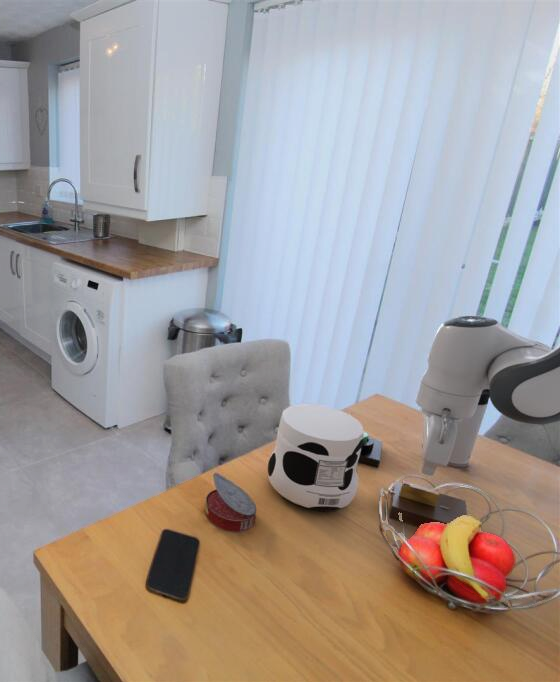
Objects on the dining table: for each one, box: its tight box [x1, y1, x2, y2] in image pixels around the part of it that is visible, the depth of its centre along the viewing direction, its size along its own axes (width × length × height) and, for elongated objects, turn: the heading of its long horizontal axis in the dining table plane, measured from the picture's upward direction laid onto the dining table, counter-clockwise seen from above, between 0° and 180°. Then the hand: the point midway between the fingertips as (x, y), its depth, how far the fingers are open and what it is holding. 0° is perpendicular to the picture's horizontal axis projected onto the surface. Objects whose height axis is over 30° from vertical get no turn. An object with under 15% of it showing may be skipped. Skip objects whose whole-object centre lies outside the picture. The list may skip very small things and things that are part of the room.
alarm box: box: [358, 434, 383, 469], centre depth 119 cm, size 10×10×4 cm
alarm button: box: [363, 430, 369, 443], centre depth 118 cm, size 4×4×2 cm
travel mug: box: [447, 389, 490, 469], centre depth 112 cm, size 6×7×20 cm
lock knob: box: [399, 480, 440, 507], centre depth 98 cm, size 6×1×3 cm, turn 54°
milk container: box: [267, 403, 364, 512], centre depth 103 cm, size 17×17×18 cm
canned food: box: [204, 472, 257, 533], centre depth 100 cm, size 11×10×10 cm
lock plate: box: [388, 480, 468, 528], centre depth 98 cm, size 13×10×3 cm
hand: (427, 460), depth 95 cm, fingers open, 8 cm apart
